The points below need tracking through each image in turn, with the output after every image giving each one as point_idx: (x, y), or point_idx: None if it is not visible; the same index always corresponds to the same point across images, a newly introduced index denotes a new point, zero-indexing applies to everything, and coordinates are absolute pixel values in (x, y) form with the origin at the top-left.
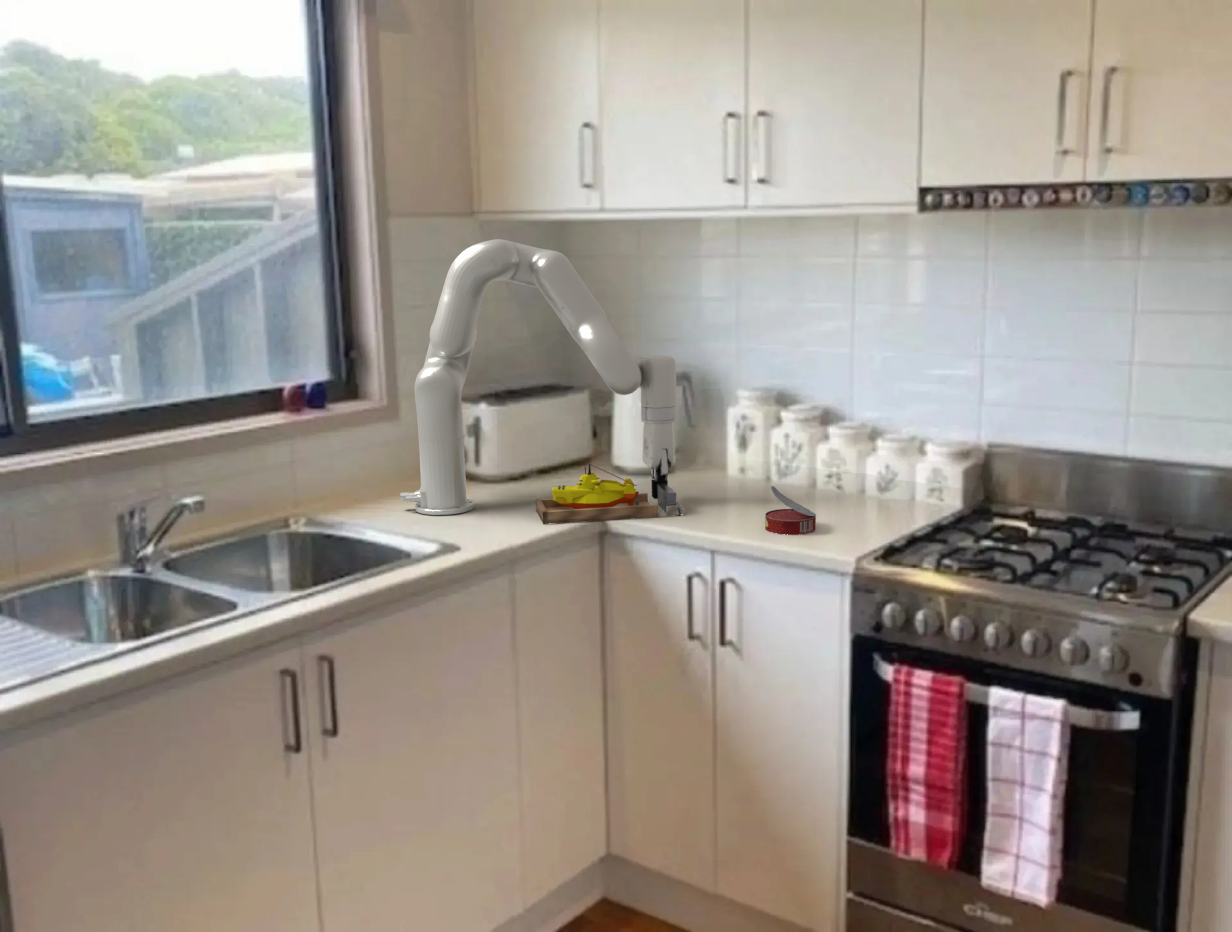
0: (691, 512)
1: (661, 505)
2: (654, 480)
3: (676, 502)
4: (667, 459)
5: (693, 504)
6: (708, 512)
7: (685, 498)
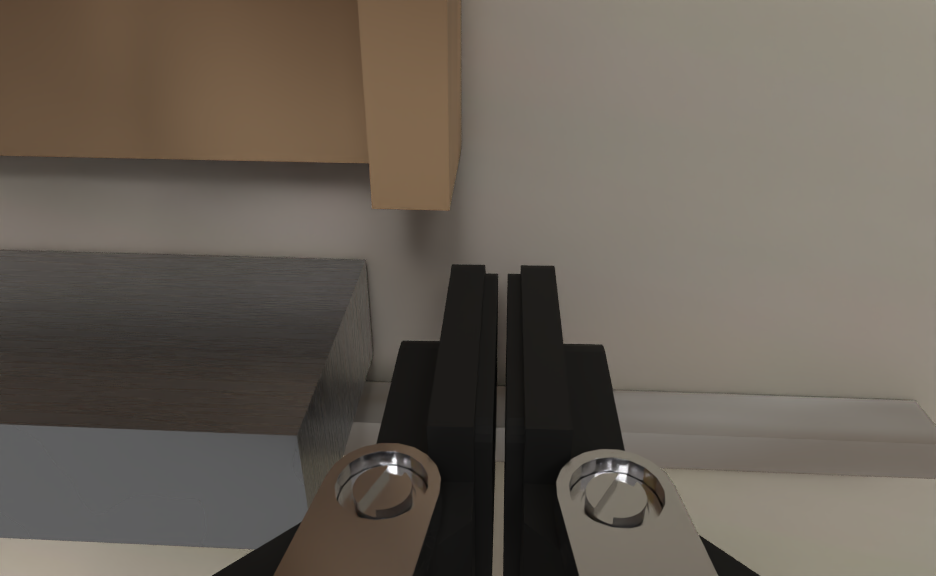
0: None
1: (127, 273)
2: (401, 454)
3: None
4: None
5: None
6: (25, 571)
7: None
